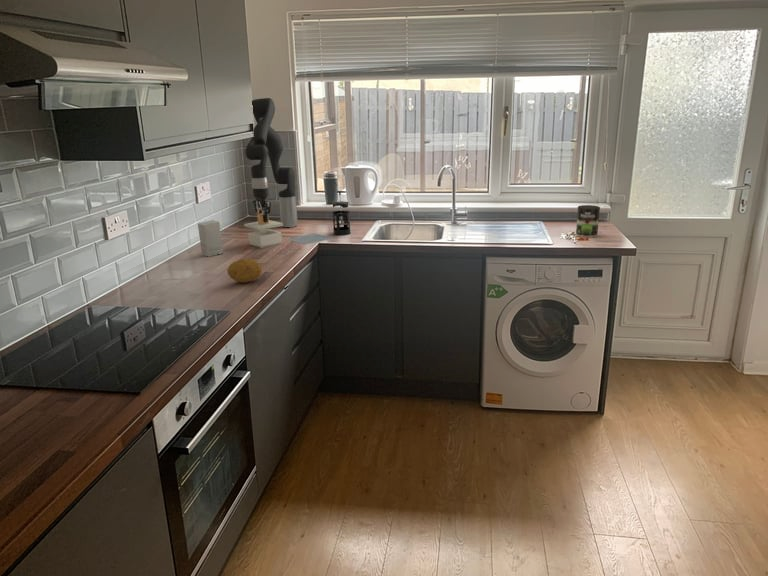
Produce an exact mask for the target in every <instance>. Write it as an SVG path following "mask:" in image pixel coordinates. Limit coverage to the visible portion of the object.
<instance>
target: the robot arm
mask: <svg viewBox="0 0 768 576" xmlns="http://www.w3.org/2000/svg"><path fill="white" fill-rule="evenodd" d="M251 102H252V105H253V112H252V114H253V115H252V116H254V119H255V122H256V125H255V126H254V127H253V129H254V137H252V136H251V138H250V141H249V142H248V143H247V145H246V147H245V151H244V152H245V153H244V154H245V157H246V158H247V160H249V161H260V162H259V163H258V164H255V165H254V164H253V165H252V166H251V167H250V171H251V173H250V174H251V186H252V188H251V189H252V197H253V198H255V199H253V200H252V203H253V207H254V211H255V213H256V215H257V214H259V213H263V222H265V223H266V222H268V215H269V214H271V205H272V203H271V202H268V199H267V198H268V197H269V196H270V195H269V182H268V178H267V161H268V158H269V163H270V165H271V170H272V174H273V179H274V181H275V183H276V184H278V185H286V188H284V189H282V190H280V191H279V192H278V199H279V201H278V202H279V219H280V223H283V226H281V228H284V227H290V228H295V226H296V227H298V224H299V223H298V214H297V213H298V211H297V201H296V200H297V199H296V174H295V173H296V172H295V170H294V169H293V167H282V166H280V159H281V156H282V154H283V151H284V145H283V141H282V139H281V136H280V133H278V132H277V131H276V130H275V129H274V128H273V127H272V126H271V124H272V122H273V119H274V116H275V113H276V112H275V111H276V106H275V102H274V100H273V99H272V98H270V97H264V98H262V97H261V98H255V99H252V100H251Z"/></svg>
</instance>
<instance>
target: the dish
mask: <svg viewBox="0 0 768 576" xmlns="http://www.w3.org/2000/svg"><path fill="white" fill-rule="evenodd" d="M247 235H248V245H249V244H251V245H250V246H252V245H254V246H253V247H255V246H257V247H256V248H258V247H259V248H258V249H265V247H266V248H270V246H271V247H272V246H276V245H281V244H283V236H282V232H281V231H277V230H274V229H271V228H268V229H262V230H256V231H252V232H248V233H247Z"/></svg>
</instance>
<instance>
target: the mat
mask: <svg viewBox="0 0 768 576" xmlns="http://www.w3.org/2000/svg"><path fill="white" fill-rule="evenodd" d="M332 239H334V237H332V236H331V237H330V236H325V235H322V234H318V233H309V234H304V235H299V236H295V237H294V236H293V237H289V238H285V240H286V241H287V240H288V241H290V242H294V243H297V244H301V245H309V244H314V243H318V242H323V241H328V240H332Z"/></svg>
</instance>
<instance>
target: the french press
mask: <svg viewBox="0 0 768 576" xmlns="http://www.w3.org/2000/svg"><path fill="white" fill-rule="evenodd" d="M335 193H337V194H338V195H339V196H341V195H342V193H344V191H343V190H337V191H335ZM341 200H342V199H341V198H339V201H335V202H332V203H331V205H332V208H335V207H340V209H339V210H336V211H335V210H334V211H332V213H331V214H332V223H333V224H332V225H333V236H338V237H339V236H341V237H342V236H343V237H344V236H348V235H351V234H352V232H351V222H350V219H351V217H350V211H349V210H342V209H343V208H344V209H345V208H346V209H347V208H348V207H349V204H350V202H349V201H341Z"/></svg>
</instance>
